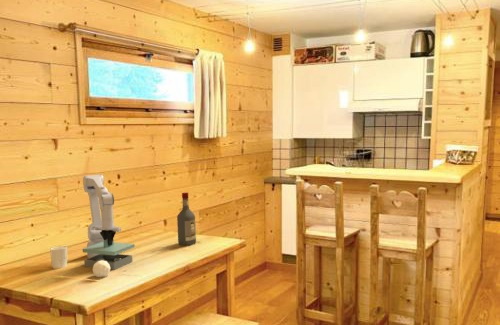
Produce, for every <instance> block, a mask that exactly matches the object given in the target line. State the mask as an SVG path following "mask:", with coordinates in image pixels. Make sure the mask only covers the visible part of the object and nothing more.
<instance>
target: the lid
mask: <svg viewBox="0 0 500 325" xmlns="http://www.w3.org/2000/svg"><path fill="white" fill-rule="evenodd" d="M135 247H136V246H135V243H126V242H115V241H114V239H113V242H112V245H110V246H108V239H107V240H104V241H103V242H101V243H98V244H95V245H92V246H89V247H87V246H86V247H84V248H82V253H85V254H87V253H94V254H105V255H117V254H122V253H124V252H127V251H129V250H133V249H135Z"/></svg>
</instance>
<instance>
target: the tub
mask: <svg viewBox="0 0 500 325" xmlns="http://www.w3.org/2000/svg"><path fill="white" fill-rule="evenodd" d="M116 258H121V260H119V261H116V262H114V259H116ZM97 259H105V261H107V263H108V264H109V265H110V271H115V270H118V269H120V268H122V267H124V266H127V265H130V264H131V263H133V255H132V254H122V253H120V254H117V255H105V254H99V255H96V256H94V257H87V258H86V259H83V260H84V268H89V269H90V268H92V269H93V266H94V264H95V263H96V262H98V261H97Z"/></svg>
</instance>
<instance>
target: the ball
mask: <svg viewBox="0 0 500 325" xmlns="http://www.w3.org/2000/svg"><path fill="white" fill-rule="evenodd" d="M110 271H111V270H110V265H109V264H108V263H107V261H103V260H101V261H98V262H96V263H95V264H94V266H93V268H92V273H93V275H94V276H95V277H96V278H104V277H107V276H108V275H109V274H110V273H111V272H110Z"/></svg>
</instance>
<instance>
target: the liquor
mask: <svg viewBox="0 0 500 325" xmlns="http://www.w3.org/2000/svg"><path fill="white" fill-rule="evenodd" d="M181 197H182V198H181V199H182V209H181V210H180V212H179V213H178V214H177V216H176V218H177V219H176V221H177V222H176V223H177V243H178V245H180V246H187V247H188V246H191V245H195V244H196V243H197V232H196V216H195V214H194V212H193V211H192V210H191V209H190V206H189V204H190V203H189V192H181Z"/></svg>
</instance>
